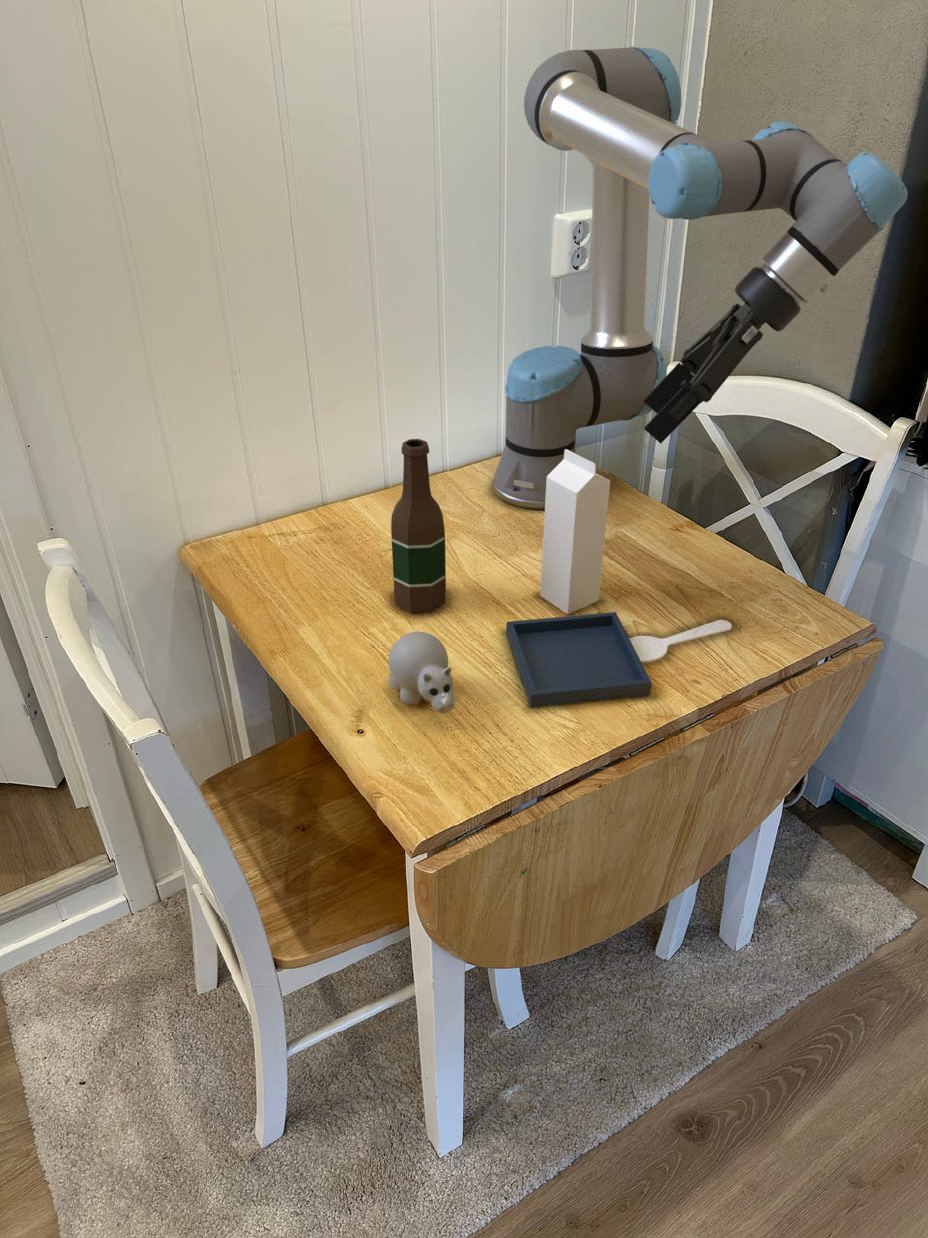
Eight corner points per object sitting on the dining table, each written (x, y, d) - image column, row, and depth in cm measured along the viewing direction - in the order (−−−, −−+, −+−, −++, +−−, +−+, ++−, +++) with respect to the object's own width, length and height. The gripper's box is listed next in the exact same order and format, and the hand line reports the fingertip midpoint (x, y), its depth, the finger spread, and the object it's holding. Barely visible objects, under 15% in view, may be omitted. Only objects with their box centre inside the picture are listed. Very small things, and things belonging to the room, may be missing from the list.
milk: (567, 615, 133) (578, 471, 120) (539, 596, 137) (546, 454, 124) (599, 600, 136) (613, 458, 123) (570, 582, 140) (581, 442, 127)
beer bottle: (454, 590, 138) (453, 434, 124) (436, 619, 132) (433, 459, 118) (404, 581, 140) (397, 427, 126) (384, 609, 134) (375, 451, 120)
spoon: (741, 635, 129) (742, 632, 129) (628, 669, 123) (628, 666, 122) (717, 615, 133) (717, 612, 133) (606, 647, 127) (606, 644, 126)
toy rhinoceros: (418, 742, 111) (416, 685, 106) (381, 683, 120) (378, 628, 115) (474, 725, 113) (474, 668, 109) (434, 669, 122) (433, 614, 118)
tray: (506, 634, 129) (506, 621, 128) (614, 624, 131) (615, 611, 129) (530, 708, 116) (531, 694, 115) (650, 695, 118) (652, 682, 117)
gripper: (822, 324, 100) (677, 470, 110) (789, 291, 122) (670, 415, 132) (771, 276, 99) (628, 427, 108) (747, 251, 121) (630, 379, 130)
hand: (651, 421), depth 120 cm, fingers open, 13 cm apart
